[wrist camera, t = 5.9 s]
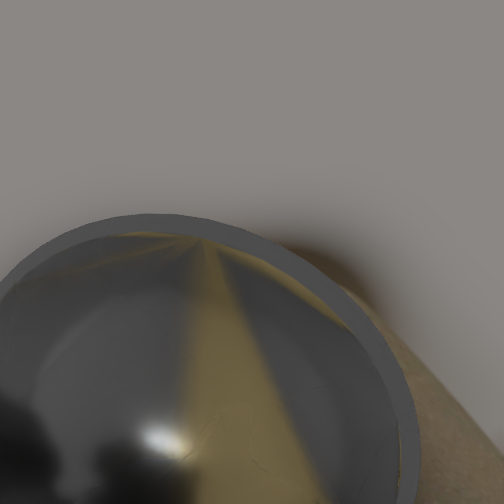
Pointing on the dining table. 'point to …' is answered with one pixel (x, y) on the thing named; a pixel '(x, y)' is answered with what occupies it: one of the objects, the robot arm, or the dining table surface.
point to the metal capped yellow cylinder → (194, 375)
